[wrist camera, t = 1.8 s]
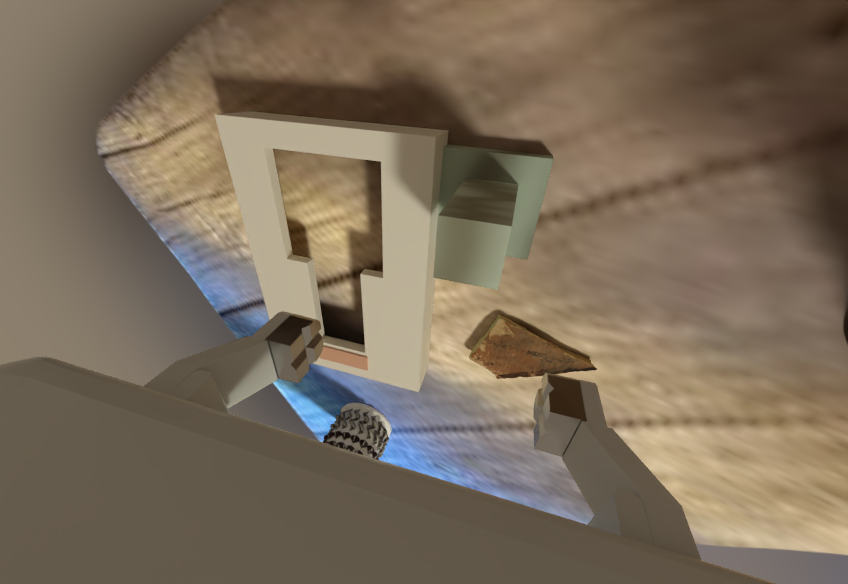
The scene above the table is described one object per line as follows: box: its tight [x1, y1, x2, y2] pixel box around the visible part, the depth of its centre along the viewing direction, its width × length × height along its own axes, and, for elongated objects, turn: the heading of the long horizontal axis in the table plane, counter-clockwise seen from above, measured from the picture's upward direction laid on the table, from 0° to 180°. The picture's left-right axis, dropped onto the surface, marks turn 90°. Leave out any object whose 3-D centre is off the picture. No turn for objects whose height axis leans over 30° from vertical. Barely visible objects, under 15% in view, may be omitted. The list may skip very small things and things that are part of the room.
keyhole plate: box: [215, 111, 449, 392], centre depth 32 cm, size 18×26×4 cm
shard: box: [469, 314, 597, 379], centre depth 34 cm, size 11×8×2 cm
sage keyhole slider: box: [433, 144, 553, 290], centre depth 23 cm, size 8×8×10 cm
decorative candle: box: [323, 402, 392, 460], centre depth 39 cm, size 9×9×25 cm
